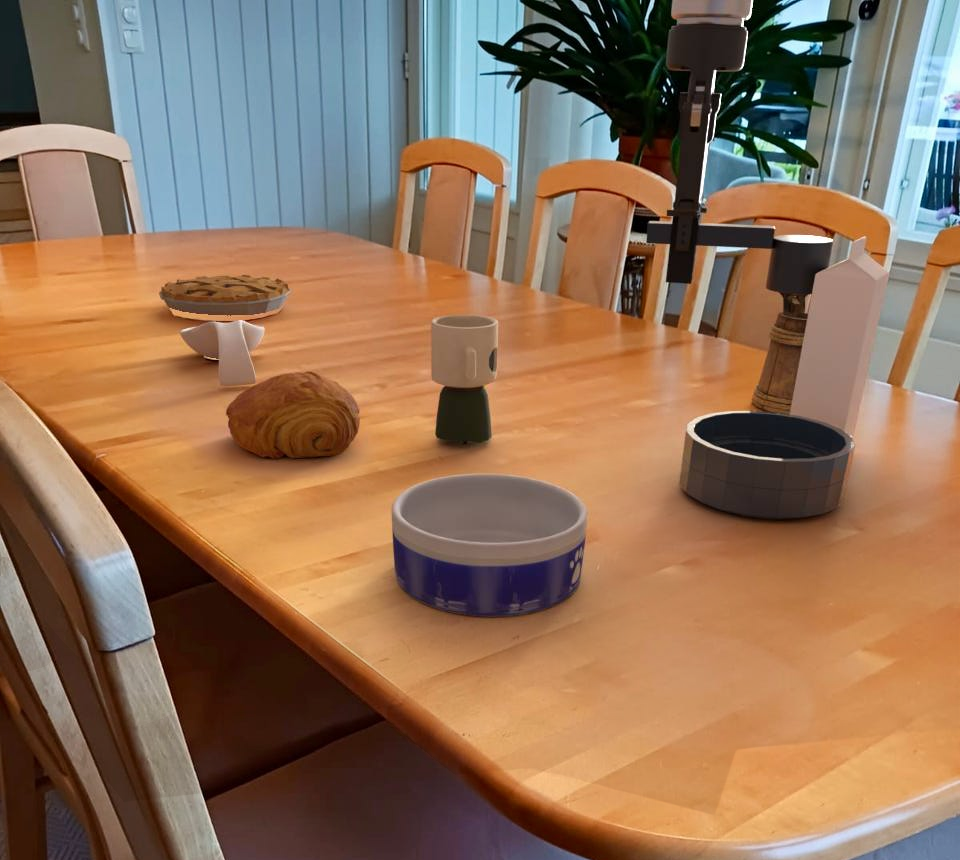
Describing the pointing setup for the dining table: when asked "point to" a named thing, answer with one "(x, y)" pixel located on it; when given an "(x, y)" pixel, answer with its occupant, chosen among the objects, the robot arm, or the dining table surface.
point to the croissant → (294, 417)
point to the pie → (225, 295)
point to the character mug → (464, 375)
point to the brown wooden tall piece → (782, 357)
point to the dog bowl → (488, 543)
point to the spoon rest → (227, 348)
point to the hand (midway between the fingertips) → (679, 280)
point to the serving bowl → (766, 464)
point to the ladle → (789, 253)
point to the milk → (839, 340)
